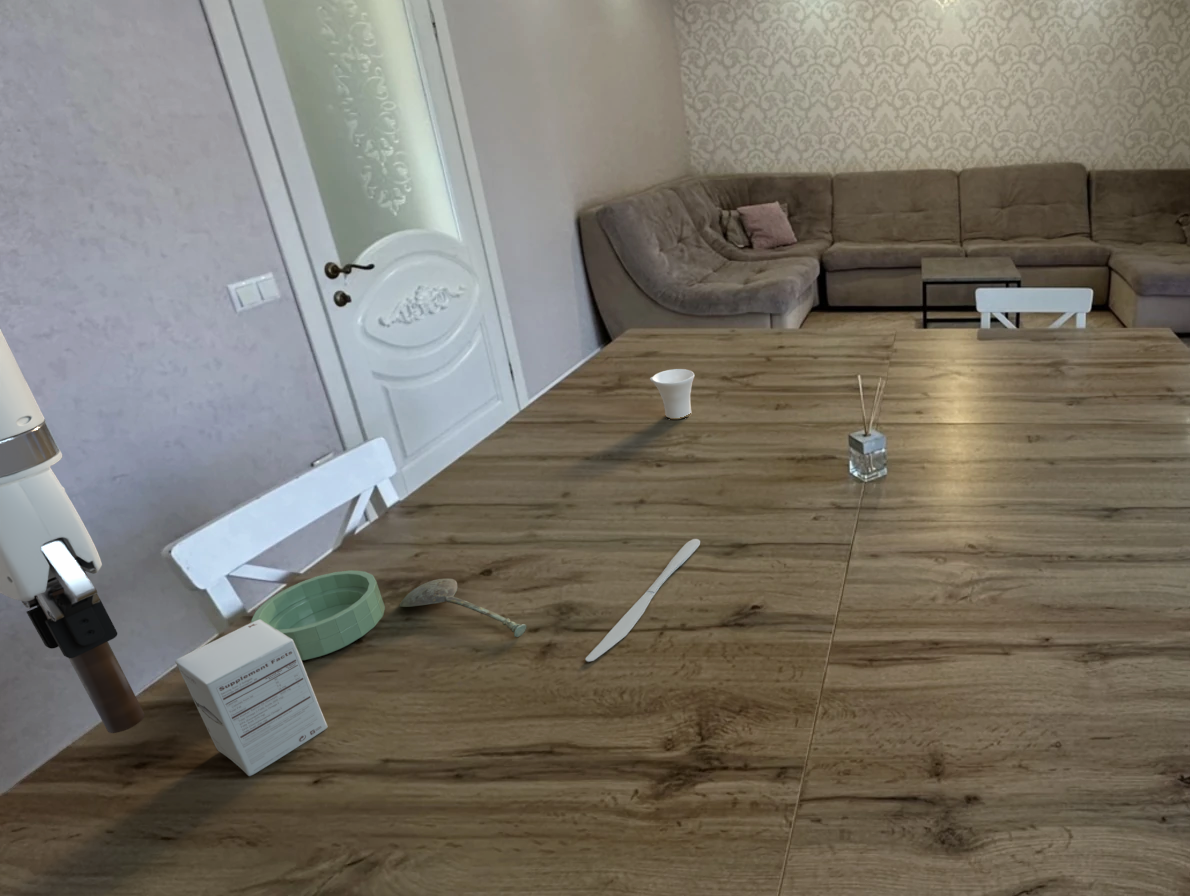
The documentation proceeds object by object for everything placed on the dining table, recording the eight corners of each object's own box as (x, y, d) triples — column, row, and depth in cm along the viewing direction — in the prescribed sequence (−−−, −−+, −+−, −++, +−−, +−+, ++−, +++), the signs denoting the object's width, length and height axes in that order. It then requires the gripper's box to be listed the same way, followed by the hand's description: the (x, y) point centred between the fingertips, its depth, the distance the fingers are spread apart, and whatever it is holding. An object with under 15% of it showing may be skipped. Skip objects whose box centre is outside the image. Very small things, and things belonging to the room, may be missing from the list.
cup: (656, 411, 162) (650, 370, 159) (699, 406, 165) (694, 365, 161) (655, 427, 154) (648, 384, 151) (699, 421, 157) (694, 379, 153)
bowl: (251, 679, 86) (237, 646, 85) (279, 618, 97) (267, 587, 95) (377, 644, 92) (366, 612, 90) (391, 589, 102) (382, 560, 101)
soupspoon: (439, 584, 105) (393, 613, 99) (432, 565, 103) (385, 593, 98) (543, 620, 96) (499, 654, 90) (537, 600, 95) (491, 633, 89)
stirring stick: (102, 737, 65) (29, 601, 60) (114, 719, 67) (44, 585, 61) (138, 726, 66) (69, 592, 61) (149, 709, 68) (83, 577, 63)
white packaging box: (215, 752, 77) (171, 659, 72) (297, 704, 83) (261, 615, 78) (247, 780, 73) (203, 684, 69) (330, 728, 80) (295, 637, 75)
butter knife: (707, 539, 113) (690, 536, 113) (600, 663, 88) (578, 659, 89) (707, 543, 113) (690, 539, 113) (600, 667, 88) (579, 662, 89)
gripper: (-137, 460, 56) (-24, 647, 63) (-45, 498, 50) (69, 699, 57) (5, 423, 62) (94, 595, 69) (101, 452, 57) (188, 637, 63)
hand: (82, 640), depth 63 cm, fingers closed on stirring stick, 2 cm apart
